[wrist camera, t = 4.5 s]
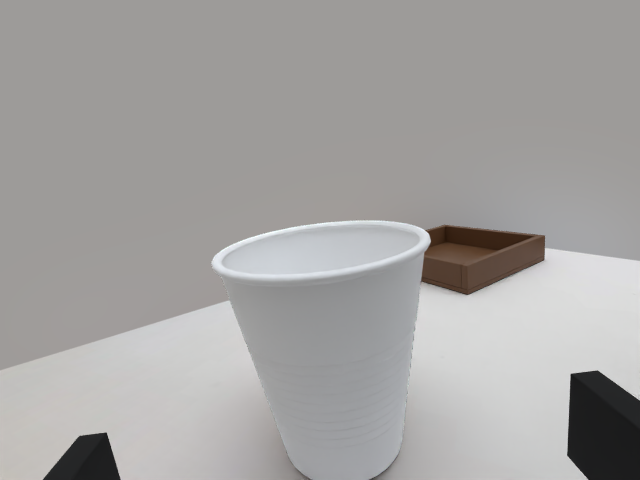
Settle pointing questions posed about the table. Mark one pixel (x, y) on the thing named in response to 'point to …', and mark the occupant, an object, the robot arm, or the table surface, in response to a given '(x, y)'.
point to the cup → (331, 336)
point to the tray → (477, 256)
